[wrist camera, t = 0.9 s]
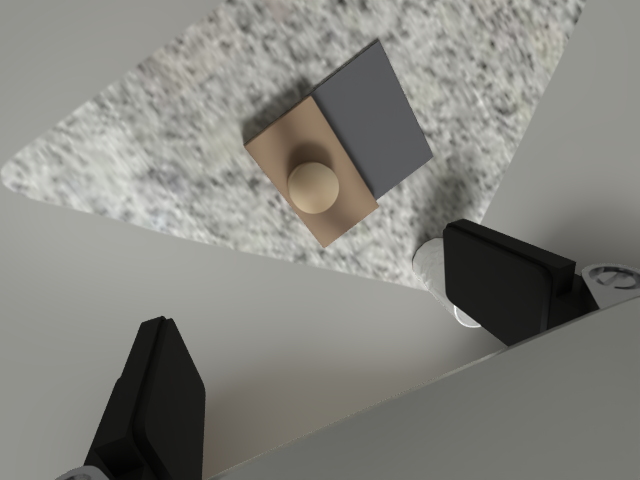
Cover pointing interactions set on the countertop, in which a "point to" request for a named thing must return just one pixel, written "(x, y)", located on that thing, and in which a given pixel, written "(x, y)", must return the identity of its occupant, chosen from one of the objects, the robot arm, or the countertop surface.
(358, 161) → the rubber mat
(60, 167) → the countertop surface
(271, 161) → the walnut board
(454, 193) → the countertop surface
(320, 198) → the cream dome knob
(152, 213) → the countertop surface
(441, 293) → the white cup
